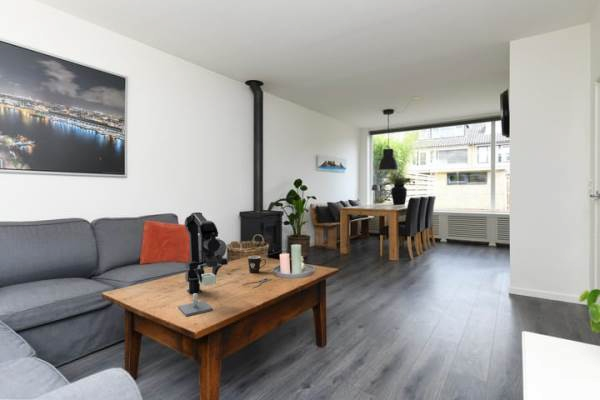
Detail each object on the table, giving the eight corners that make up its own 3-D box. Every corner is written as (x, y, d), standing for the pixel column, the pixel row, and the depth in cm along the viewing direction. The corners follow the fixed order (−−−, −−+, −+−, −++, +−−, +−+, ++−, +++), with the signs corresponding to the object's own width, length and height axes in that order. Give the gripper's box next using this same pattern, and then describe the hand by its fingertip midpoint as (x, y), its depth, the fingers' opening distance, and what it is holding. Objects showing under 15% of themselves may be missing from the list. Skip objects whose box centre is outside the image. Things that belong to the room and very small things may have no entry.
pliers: (239, 285, 180) (258, 276, 199) (239, 287, 180) (258, 278, 199) (254, 287, 177) (271, 278, 195) (254, 289, 177) (271, 280, 195)
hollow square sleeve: (199, 283, 151) (198, 274, 151) (211, 280, 155) (211, 272, 155) (203, 285, 147) (203, 277, 147) (216, 283, 150) (215, 275, 150)
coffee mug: (245, 272, 211) (245, 257, 211) (254, 269, 218) (254, 255, 218) (258, 275, 204) (258, 259, 204) (266, 272, 211) (266, 257, 211)
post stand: (178, 308, 147) (177, 293, 146) (203, 302, 154) (203, 288, 153) (185, 316, 137) (185, 300, 137) (212, 310, 144) (212, 295, 144)
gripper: (193, 253, 139) (193, 288, 139) (232, 248, 150) (232, 281, 150) (185, 249, 147) (185, 283, 148) (222, 245, 159) (222, 276, 159)
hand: (207, 281), depth 151 cm, fingers closed on hollow square sleeve, 6 cm apart
